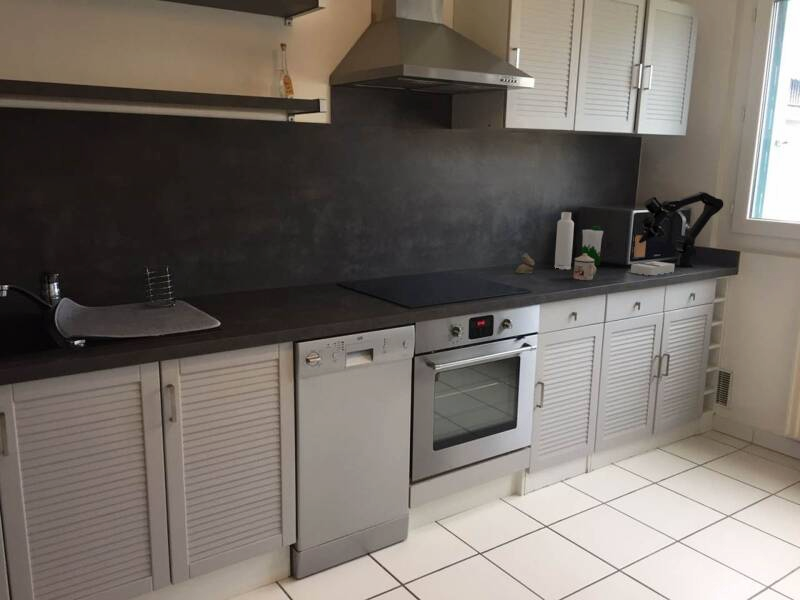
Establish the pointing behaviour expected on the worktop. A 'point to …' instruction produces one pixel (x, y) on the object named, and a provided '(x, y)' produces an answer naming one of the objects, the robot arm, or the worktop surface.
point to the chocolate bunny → (526, 265)
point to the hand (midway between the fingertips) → (637, 242)
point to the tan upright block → (639, 247)
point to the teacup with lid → (584, 268)
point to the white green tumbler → (592, 243)
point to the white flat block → (652, 268)
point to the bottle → (564, 241)
